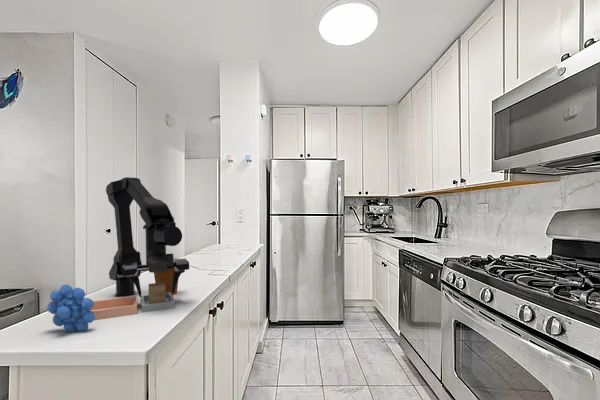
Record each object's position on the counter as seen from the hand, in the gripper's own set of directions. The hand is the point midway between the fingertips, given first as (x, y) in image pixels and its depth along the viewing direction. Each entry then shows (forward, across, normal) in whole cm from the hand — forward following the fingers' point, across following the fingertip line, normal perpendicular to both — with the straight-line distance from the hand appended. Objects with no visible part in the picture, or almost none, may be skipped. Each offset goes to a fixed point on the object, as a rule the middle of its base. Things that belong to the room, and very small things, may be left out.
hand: (157, 294), depth 108 cm
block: (+3, 0, 0) cm, 3 cm away
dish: (+4, -13, -1) cm, 14 cm away
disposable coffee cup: (+4, +4, +13) cm, 14 cm away
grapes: (+4, -21, -14) cm, 26 cm away
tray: (+4, 0, 0) cm, 4 cm away
